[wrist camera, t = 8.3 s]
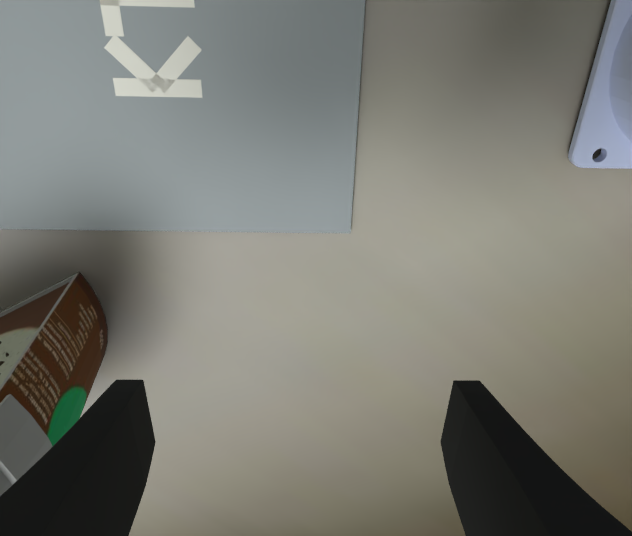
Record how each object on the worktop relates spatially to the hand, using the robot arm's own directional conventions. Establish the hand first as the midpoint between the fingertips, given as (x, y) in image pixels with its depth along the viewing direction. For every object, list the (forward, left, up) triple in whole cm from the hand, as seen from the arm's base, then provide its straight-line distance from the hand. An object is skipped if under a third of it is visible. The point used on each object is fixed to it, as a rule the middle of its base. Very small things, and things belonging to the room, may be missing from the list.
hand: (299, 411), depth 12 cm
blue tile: (+5, -7, -10) cm, 13 cm away
